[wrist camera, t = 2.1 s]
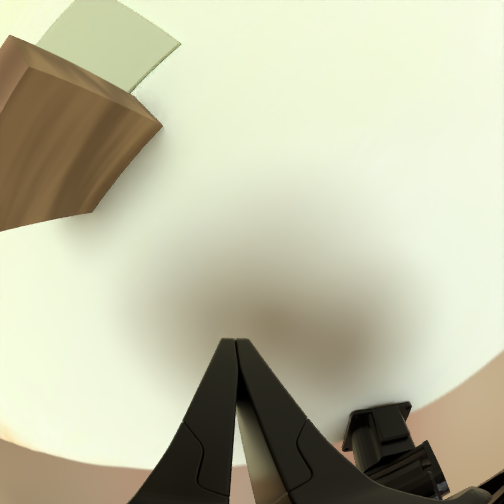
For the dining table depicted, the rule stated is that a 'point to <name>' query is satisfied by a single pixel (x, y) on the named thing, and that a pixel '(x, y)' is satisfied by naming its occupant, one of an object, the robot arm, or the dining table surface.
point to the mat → (108, 41)
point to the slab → (61, 135)
